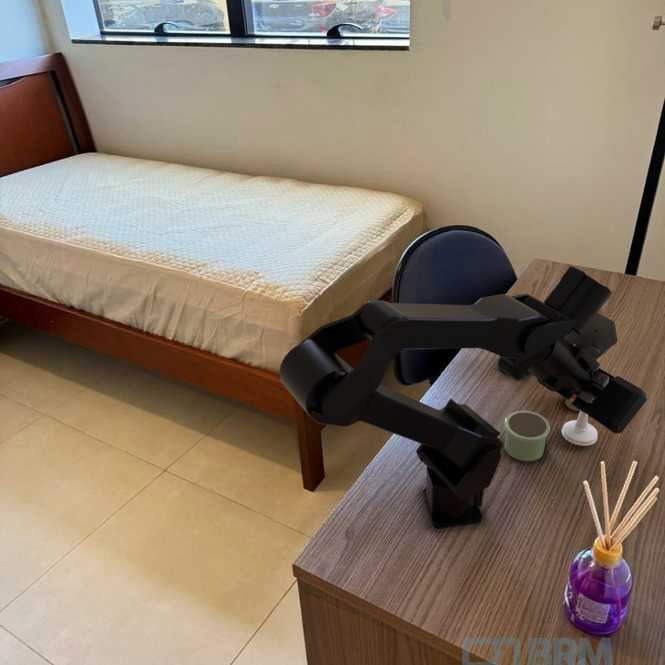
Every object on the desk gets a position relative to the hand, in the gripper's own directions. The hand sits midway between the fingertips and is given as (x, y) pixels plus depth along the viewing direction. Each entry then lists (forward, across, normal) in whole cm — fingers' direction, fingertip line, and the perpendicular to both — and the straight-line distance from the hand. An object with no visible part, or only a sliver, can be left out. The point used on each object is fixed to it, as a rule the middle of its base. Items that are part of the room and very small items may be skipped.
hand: (593, 395), depth 87 cm
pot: (-1, +3, +12) cm, 12 cm away
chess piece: (+4, 0, +6) cm, 7 cm away
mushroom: (+8, +6, +2) cm, 10 cm away
